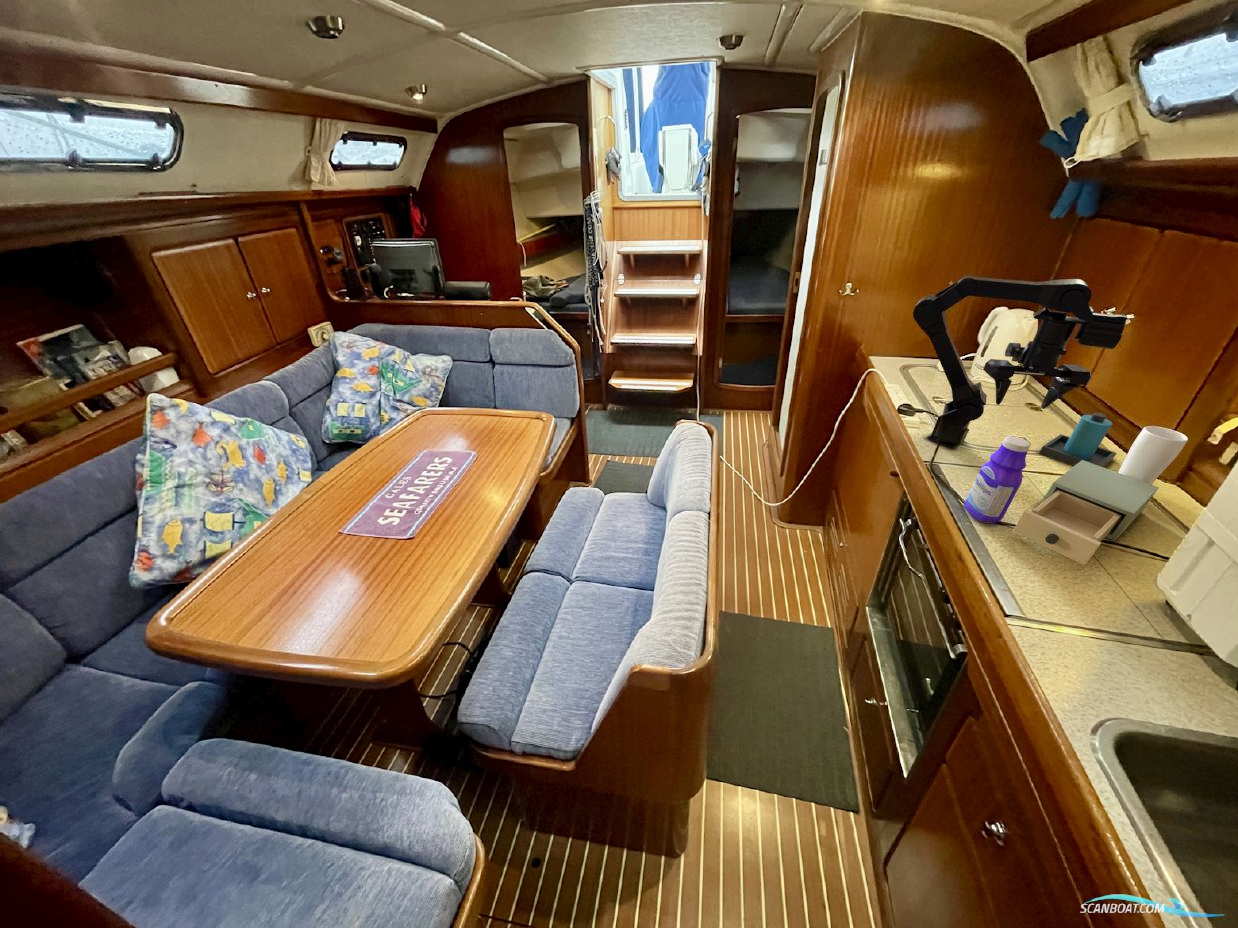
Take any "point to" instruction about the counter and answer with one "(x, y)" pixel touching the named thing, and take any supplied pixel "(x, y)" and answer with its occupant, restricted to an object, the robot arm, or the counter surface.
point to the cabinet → (1106, 492)
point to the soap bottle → (1087, 436)
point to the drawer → (1067, 525)
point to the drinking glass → (1152, 453)
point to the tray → (1055, 451)
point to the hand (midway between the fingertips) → (1019, 406)
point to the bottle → (998, 481)
